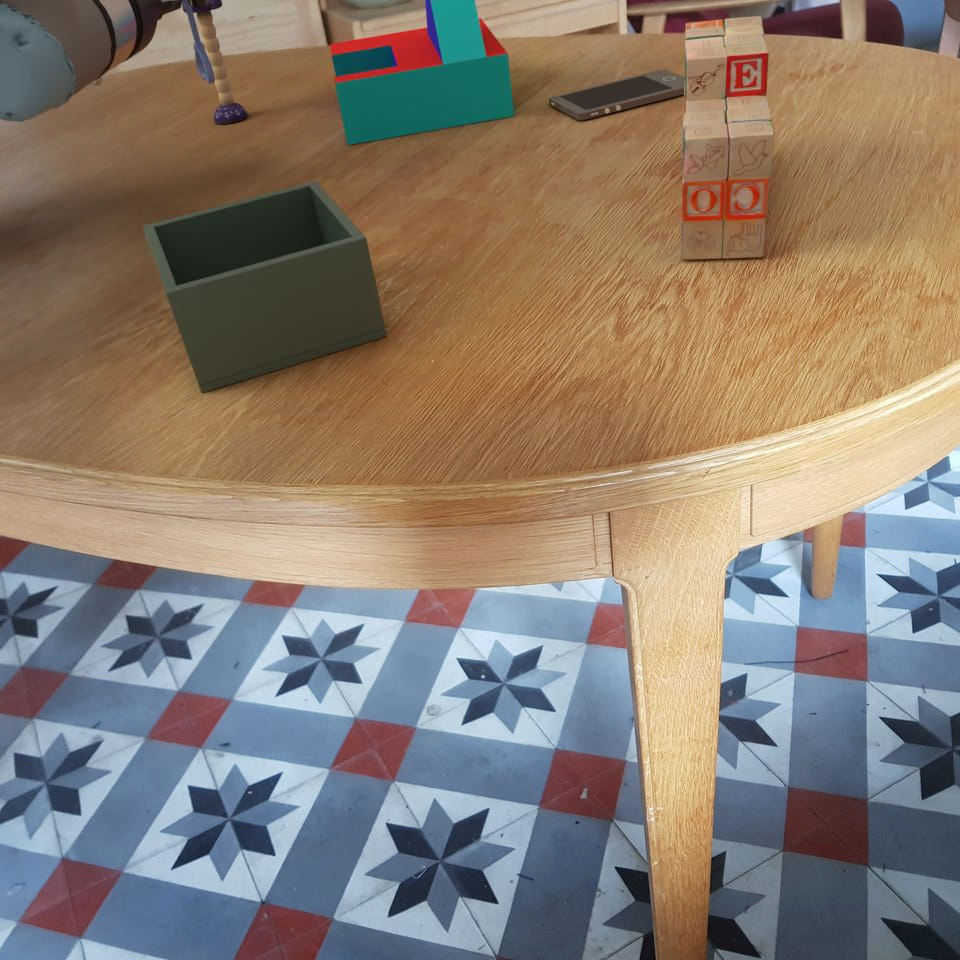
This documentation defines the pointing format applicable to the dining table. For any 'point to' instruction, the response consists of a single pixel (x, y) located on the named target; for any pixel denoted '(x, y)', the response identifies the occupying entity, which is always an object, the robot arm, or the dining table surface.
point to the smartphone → (619, 94)
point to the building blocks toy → (423, 76)
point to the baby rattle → (199, 49)
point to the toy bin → (266, 283)
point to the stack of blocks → (725, 139)
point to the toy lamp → (218, 66)
